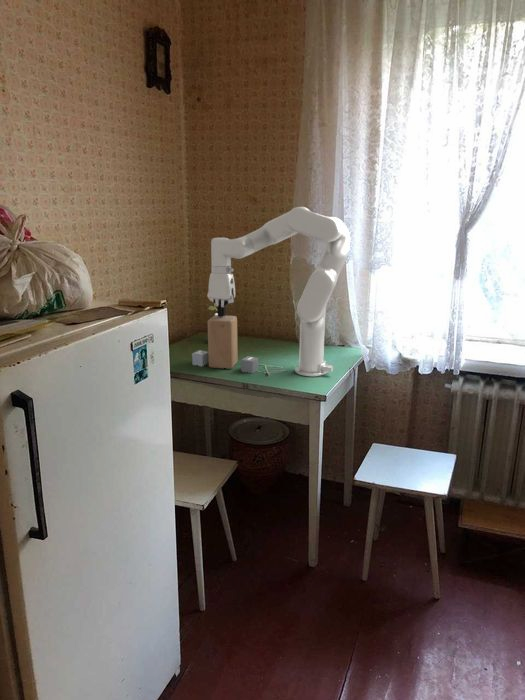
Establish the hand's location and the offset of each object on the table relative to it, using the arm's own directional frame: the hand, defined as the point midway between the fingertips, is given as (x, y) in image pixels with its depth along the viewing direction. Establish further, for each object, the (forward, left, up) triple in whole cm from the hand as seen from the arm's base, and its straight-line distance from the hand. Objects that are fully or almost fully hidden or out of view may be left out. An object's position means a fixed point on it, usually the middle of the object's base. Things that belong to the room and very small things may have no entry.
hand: (221, 316), depth 208 cm
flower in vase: (+20, -29, -21) cm, 41 cm away
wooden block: (0, 0, -21) cm, 21 cm away
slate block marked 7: (+9, +3, -21) cm, 23 cm away
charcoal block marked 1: (-13, +1, -21) cm, 25 cm away
